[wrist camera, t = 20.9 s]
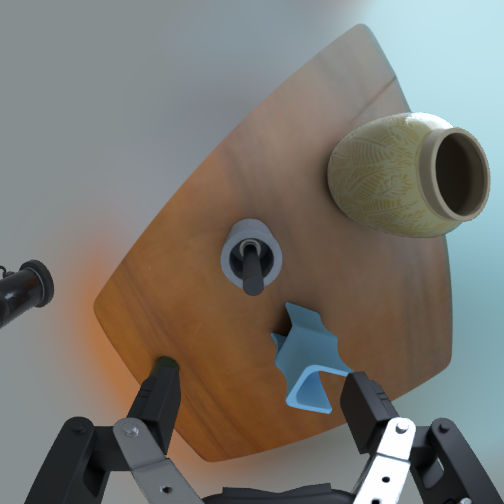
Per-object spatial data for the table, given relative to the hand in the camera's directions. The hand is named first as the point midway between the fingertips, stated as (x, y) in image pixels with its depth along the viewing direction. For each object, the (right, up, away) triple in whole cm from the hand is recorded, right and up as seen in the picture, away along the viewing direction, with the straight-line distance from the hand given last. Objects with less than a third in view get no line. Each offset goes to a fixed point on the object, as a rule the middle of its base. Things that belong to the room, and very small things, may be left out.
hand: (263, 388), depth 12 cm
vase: (+20, +20, +35) cm, 45 cm away
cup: (-1, +8, +37) cm, 38 cm away
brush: (-1, +8, +36) cm, 37 cm away
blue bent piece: (+8, -8, +41) cm, 43 cm away
